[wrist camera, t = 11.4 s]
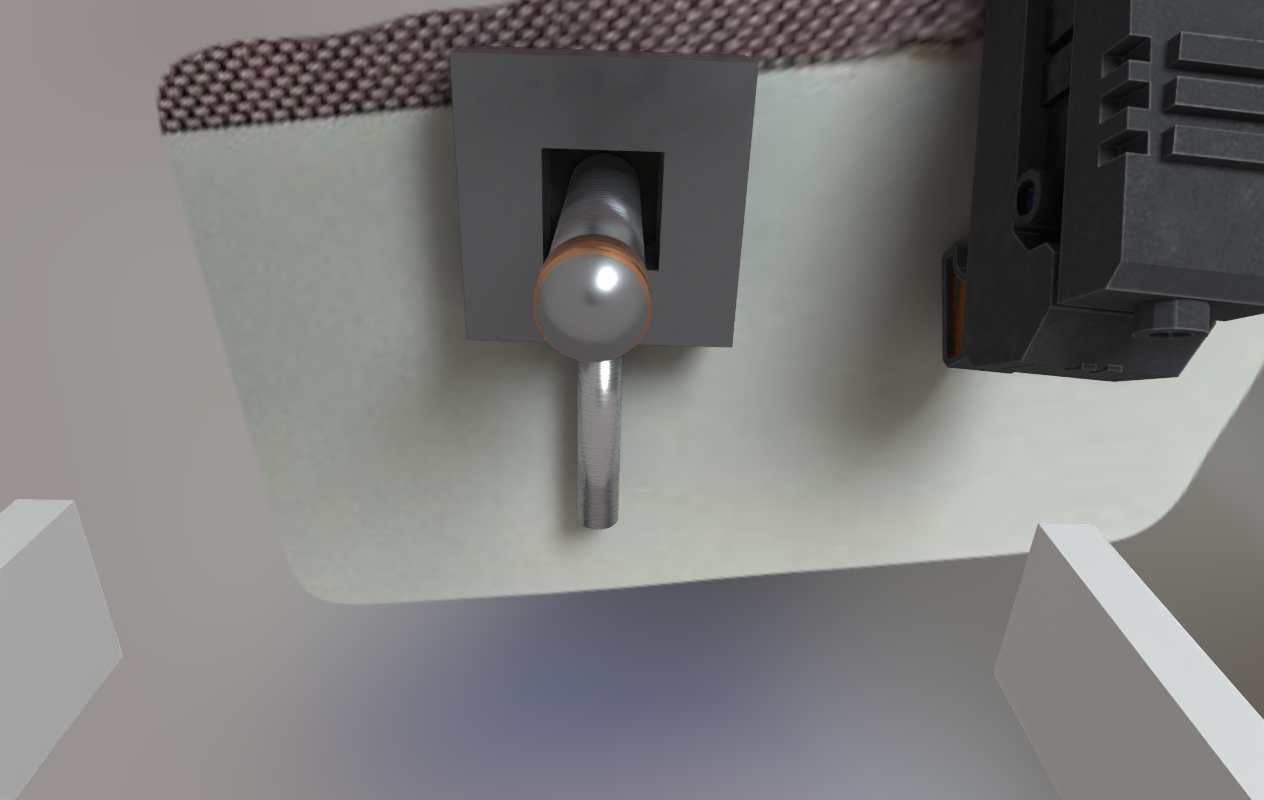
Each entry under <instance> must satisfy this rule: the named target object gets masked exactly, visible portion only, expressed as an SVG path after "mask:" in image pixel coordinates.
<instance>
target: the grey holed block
mask: <svg viewBox="0 0 1264 800" xmlns="http://www.w3.org/2000/svg"><path fill="white" fill-rule="evenodd" d="M450 67H451V84H452V101H453V118H454V135H455V152H456V169H457V186H458V203H459V220H460V237H461V253H462V270H463V287H464V304H465V321H466V338H467V340H486V341H522V342H547V341H546V340H545V339H544V338H543V336H542V335H541V333H540V331H539V330H538V328H537V325H536V322H535V319H534V315H533V296H534V291H535V288H536V285H537V281H538V278H539V275H540V272H541V269H542V266H543V264H544V262H545V260H546V259H547V257H548V256H549V253H550V249H551V246H552V243H553V240H551V177H550V148H558V149H589V150H619V151H650V152H660V158H659V180H658V201H657V223H656V243H644V258H645V267H646V269H647V273H648V276H649V282H650V292H651V308H652V310H651V318H650V322H649V325H648V327H647V330H646V332H645V334H644V335H643V337H642V338H641V340H640V341H639V342H638V343H637V344H636V345H666V346H702V347H732V342H733V332H734V321H735V310H736V299H737V289H738V278H739V267H740V256H741V246H742V235H743V224H744V213H745V203H746V192H747V181H748V170H749V160H750V149H751V138H752V127H753V117H754V106H755V95H756V84H757V74H758V62H756V61H754V60H752V59H751V58H749V57H747V56H745V55H729V54H701V53H672V52H644V51H616V50H587V49H559V48H530V47H502V46H473V45H468V46H465V47H463V48H460V49H457V50H454V51H451V52H450ZM622 374H623V355H622V356H620V357H617V358H615V359H612V360H609V361H604V362H582V361H578V452H577V520H578V522H579V523H580V524H581V525H583V526H584V527H587V528H590V529H606V528H609V527H611V526H613V525H614V524H615V523H616V522H617V521H618V505H619V472H620V440H621V407H622Z"/></svg>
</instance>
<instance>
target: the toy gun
mask: <svg viewBox="0 0 1264 800" xmlns="http://www.w3.org/2000/svg"><path fill="white" fill-rule="evenodd" d="M1263 313H1264V0H987V7H986V20H985V34H984V47H983V60H982V73H981V86H980V100H979V113H978V126H977V139H976V152H975V166H974V179H973V192H972V205H971V219H970V232H969V245H968V247H967V246H957V245H956V246H954V247H953V248H952V249H950V250H949V251H947V252H946V253H945V254H944V255H943V258H942V324H943V361H944V363H945V364H946V366H947V367H949V368H959V369H970V370H980V371H990V372H1000V373H1010V374H1011V373H1014V372H1020V373H1030V374H1040V375H1050V376H1061V377H1071V378H1081V379H1091V380H1101V381H1111V382H1117V381H1130V380H1144V379H1157V378H1171V377H1178V376H1179V375H1180V373H1181V372H1182V371H1183V369H1184V368H1185V366H1186V365H1187V364H1188V362H1189V361H1190V359H1191V358H1192V357H1193V355H1194V354H1195V352H1196V351H1197V350H1198V348H1199V347H1200V345H1201V344H1202V343H1203V341H1204V340H1205V338H1206V337H1208V335H1209V333H1210V331H1211V330H1212V329H1213V327H1214V326H1215V324H1216V320H1217V321H1229V320H1234V319H1239V318H1244V317H1249V316H1254V315H1259V314H1263Z"/></svg>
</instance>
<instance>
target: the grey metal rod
mask: <svg viewBox="0 0 1264 800" xmlns="http://www.w3.org/2000/svg"><path fill="white" fill-rule="evenodd" d="M651 310H652V308H651V292H650V282H649V276H648V273H647V269H646V267H645V258H644V243H643V229H642V215H641V200H640V186H639V180H638V177H637V175H636V172H635V171H634V169H633V168H632V167H631V165H630V164H629V163H628V162H627V161H625V160H624V159H622V158H620V157H618V156H616V155H612V154H606V153H604V154H596V155H593V156H590V157H588V158H586V159H585V160H583V161H582V162H581V163H580V164H579V165H578V166H577V167H576V169H575V170H574V172H573V174H572V177H571V180H570V184H569V187H568V191H567V194H566V198H565V201H564V204H563V208H562V211H561V215H560V218H559V222H558V225H557V229H556V232H555V236H554V239H553V243H552V246H551V249H550V253H549V256H548V257H547V259H546V260H545V262H544V264H543V266H542V269H541V272H540V275H539V278H538V281H537V285H536V288H535V291H534V296H533V315H534V319H535V322H536V325H537V328H538V330H539V331H540V333H541V335H542V336H543V338H544V339H545V340H546V341H547V343H548V344H549V345H550V346H551V347H553V348H554V349H555V350H556V351H558V352H559V353H561V354H562V355H565V356H567V357H569V358H571V359H574V360H578V361H582V362H604V361H609V360H612V359H615V358H617V357H620V356H622V355H623V354H625V353H627V352H628V351H629V350H631V349H632V348H633V347H634V346H635V345H636V344H637V343H638V342H639V341H640V340H641V338H642V337H643V335H644V334H645V332H646V330H647V327H648V325H649V322H650V318H651Z"/></svg>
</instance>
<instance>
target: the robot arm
mask: <svg viewBox="0 0 1264 800" xmlns="http://www.w3.org/2000/svg"><path fill="white" fill-rule="evenodd" d="M122 657H123V654H122V650H121V648H120V644H119V641H118V638H117V634H116V631H115V628H114V625H113V622H112V618H111V615H110V612H109V609H108V606H107V603H106V599H105V596H104V593H103V590H102V587H101V583H100V580H99V577H98V574H97V570H96V567H95V564H94V561H93V558H92V555H91V551H90V548H89V545H88V542H87V539H86V535H85V533H84V529H83V526H82V522H81V519H80V516H79V513H78V510H77V506H76V503H75V501H74V500H37V499H16V500H15V501H14V502H13V503H12V504H10V505H9V506H8V507H7V508H6V509H4V510H3V511H2V512H1V513H0V800H15V799H16V798H17V796H18V795H19V794H20V792H21V791H22V790H23V788H24V787H25V786H26V784H27V783H28V782H29V780H30V779H31V778H32V776H33V775H34V774H35V772H36V771H37V770H38V768H39V767H40V766H41V764H42V763H43V762H44V760H45V759H46V758H47V756H48V755H49V754H50V752H51V751H52V750H53V748H54V747H55V746H56V744H57V743H58V742H59V741H60V739H61V738H62V736H63V735H64V734H65V733H66V731H67V730H68V729H69V727H70V726H71V725H72V723H73V722H74V720H75V719H76V718H77V717H78V715H79V714H80V712H81V711H82V710H83V708H84V707H85V706H86V705H87V703H88V702H89V701H90V699H91V698H92V697H93V695H94V694H95V693H96V691H97V690H98V689H99V687H100V686H101V685H102V683H103V682H104V681H105V679H106V678H107V677H108V675H109V674H110V673H111V671H112V670H113V669H114V667H115V666H116V665H117V663H118V662H119V661H120V659H121V658H122ZM993 674H994V675H995V677H996V679H997V681H998V683H999V685H1000V687H1001V689H1002V690H1003V692H1004V694H1005V696H1006V698H1007V699H1008V702H1009V703H1010V705H1011V707H1012V708H1013V711H1014V713H1015V714H1016V716H1017V718H1018V720H1019V722H1020V724H1021V726H1022V728H1023V729H1024V731H1025V733H1026V735H1027V736H1028V739H1029V741H1030V742H1031V744H1032V746H1033V748H1034V750H1035V752H1036V754H1037V756H1038V757H1039V759H1040V761H1041V763H1042V765H1043V767H1044V769H1045V770H1046V772H1047V774H1048V776H1049V778H1050V780H1051V782H1052V783H1053V785H1054V787H1055V789H1056V791H1057V793H1058V795H1059V796H1060V798H1061V800H1264V720H1263V719H1262V718H1261V716H1260V715H1259V714H1258V713H1257V712H1256V711H1255V710H1254V708H1253V707H1252V706H1251V705H1250V704H1249V703H1248V702H1247V700H1246V699H1245V698H1244V697H1243V696H1242V695H1241V693H1240V692H1239V691H1238V690H1237V689H1236V688H1235V687H1234V685H1233V684H1232V683H1231V682H1230V681H1229V680H1228V679H1227V677H1225V675H1224V674H1223V673H1222V672H1221V671H1220V669H1219V668H1218V667H1217V666H1216V665H1215V664H1214V663H1213V661H1212V660H1211V659H1210V658H1209V657H1208V656H1207V655H1206V653H1205V652H1204V651H1203V650H1202V649H1201V648H1200V647H1199V645H1198V644H1197V643H1196V642H1195V641H1194V640H1193V639H1192V637H1191V636H1189V634H1188V633H1187V632H1186V630H1185V629H1184V628H1183V627H1182V626H1181V625H1180V624H1179V622H1178V621H1177V620H1176V619H1175V618H1174V617H1173V616H1172V614H1171V613H1170V612H1169V611H1168V610H1167V609H1166V608H1165V606H1164V605H1163V604H1162V603H1161V602H1160V601H1159V600H1158V598H1157V597H1156V596H1155V595H1154V594H1153V593H1152V591H1151V590H1150V589H1149V588H1148V587H1147V586H1146V585H1145V584H1144V582H1143V581H1142V580H1141V579H1140V578H1139V577H1138V575H1137V574H1136V573H1135V572H1134V571H1133V570H1132V569H1131V567H1130V566H1129V565H1128V564H1127V563H1126V562H1125V561H1124V559H1123V558H1122V557H1121V556H1120V555H1119V554H1118V553H1117V551H1116V550H1115V549H1114V548H1113V547H1112V546H1111V545H1110V543H1109V542H1108V541H1107V540H1106V539H1105V538H1104V536H1103V535H1102V534H1101V533H1100V532H1099V531H1098V530H1097V528H1096V527H1095V526H1094V525H1093V524H1052V523H1038V526H1037V529H1036V532H1035V536H1034V539H1033V542H1032V546H1031V549H1030V552H1029V556H1028V559H1027V562H1026V566H1025V569H1024V572H1023V576H1022V579H1021V583H1020V586H1019V589H1018V593H1017V596H1016V599H1015V602H1014V606H1013V609H1012V612H1011V616H1010V619H1009V623H1008V626H1007V629H1006V632H1005V636H1004V639H1003V642H1002V646H1001V649H1000V652H999V656H998V659H997V663H996V666H995V669H994V672H993Z"/></svg>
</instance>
